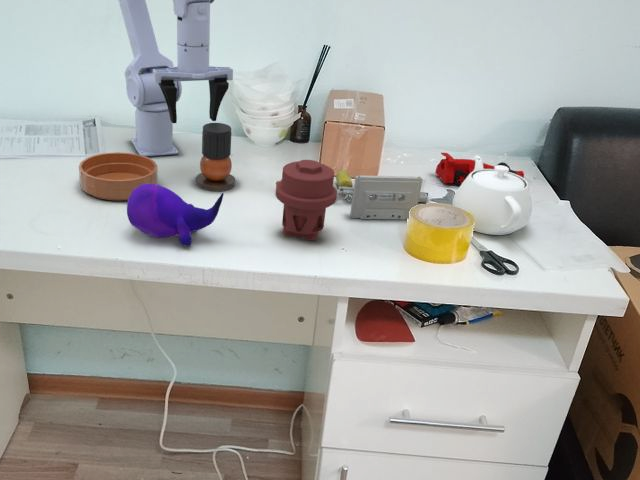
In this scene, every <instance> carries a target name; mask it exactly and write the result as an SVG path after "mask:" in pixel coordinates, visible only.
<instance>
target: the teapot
mask: <svg viewBox="0 0 640 480" xmlns="http://www.w3.org/2000/svg"><path fill="white" fill-rule="evenodd" d="M474 160H475V168H474V171H473V172H471V173H470V174H469V175H468V177H467V178H466V179H465V180H464V182H463V183H462V184H461V186H458V189H457V190H456V192H455V194H454V196H453V198H452V202H451V203H452V204H451V206H452V205H453V206H456V207H458V208H461V209H463V210H466V211H468V212H470V213H471V214H472V215H474V217H475V225H474V228H473V230H472V231H475V232H477V233H480V234H485V235H492V236H493V235H494V236H503V235H509V234H512V233H514V232H516V231H518V230H520V229H522V228H523V227H525V226H526V225H527V224H528V223H529V222H530V220H531V217H532V211H533V200H532V193H531V189H530V184H529V182H528V181H527V179H525V177H524V178H523V177H521V176H519V175H517V174H514V173H511V172H508V171H509V168H508V167H506V166H502V165H497V164H496V165H497V166H496V165H494V166H495V167H494V168H495V169H484V168H483V163H484V161H483V158H482V157H481V156H479V155H474Z"/></svg>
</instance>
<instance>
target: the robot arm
mask: <svg viewBox="0 0 640 480" xmlns="http://www.w3.org/2000/svg"><path fill="white" fill-rule="evenodd" d="M214 2H215V0H172V4H173V12H174V15H175V16H176V47H177V48H176V51H177V52H176V53H177V56H176V57H177V61H176V62H177V66H174V65H175V64H174V63H173V61H172V60H171V59H170V58H168V57H167V56H165V55H164V54H162V53H161V52H160V50H159V47H158V43H157V42H158V41H157V40H156V35H155V32H154V28H153V24H152V20H151V16H150V13H149V8H148V4H147V1H146V0H118V4H119V7H120V11H121V15H122V19H123V22H124V26H125V29H126V34H127V37H128V41H129V45H130V49H131V53H132V56H133V59H132V61H131V62H130V63H129V64H128V65H127V67H126V68H125V71H124V77H125V83H126V85H125V86H126V94H127V98H128V100H129V102H130V103H131V104H132V105H133V107H135V112H134V118H135V119H134V121H135V122H134V123H135V138H132V139H131V143H132V145H133V146H134V148H135V150H136V151H137V154H138V155H142V156H145V157H154V156H155V157H156V156H168V155H169V156H170V155H178V154H179V151H178V149H177V148H176V146H175V145H174V142H173V141H174V139H173V138H174V137H173V136H174V135H173V132H174V131H173V130H174V129H173V125H174V124H177V121H178V115H177V103H178V102H179V100H180V98H181V96H182V92H183V88H182V82H195V81H196V82H197V81H208V86H209V108H208V109H209V110H208V111H209V112H208V113H209V114H208V115H209V119H210V120H211V122H216V121H217V118H218V114H219V110H220V107H221V104H222V101H223V99H224V97H225V95H226V93H227V91H228V90H229V87H230V83H229V81H233V80H234V68H232V67H230V66H213V65H212V66H210V44H211V43H210V40H211V39H210V35H211V28H210V27H211V4H212V3H214Z"/></svg>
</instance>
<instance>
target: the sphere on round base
mask: <svg viewBox="0 0 640 480" xmlns="http://www.w3.org/2000/svg"><path fill="white" fill-rule="evenodd" d="M232 167H233V163H232V159H231V158H230V156H229V157H227V158H225V159H211V158H208V157H205V156H204V155H203V154H202V156H201V159H200V161H199V168H200V172H201V173H198V174H196V176H195V181H194V182H195V185H196V187H198V188H200V189H202V190H204V191H209V192H226V191H229V190H232V189H233V188H235V186H236V177H235V176H234V175H232V174H231V172H232V169H233V168H232Z"/></svg>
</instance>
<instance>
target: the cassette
mask: <svg viewBox="0 0 640 480" xmlns="http://www.w3.org/2000/svg"><path fill="white" fill-rule="evenodd" d="M423 181H424V180H423V178H422V176H409V175H408V176H407V175H405V176H404V175H355V177H354V184H353V188H354V190H353V196H352V201H351V204H350V211H349V216H350V218H351V219H361V220H410V219H409V211H410V209H411V208H412V207H414V206H416V205H419V202H418V201H419V196H420V192H421V190H422V185H423ZM380 193H393V197H392V198H390V197H379V196H380ZM372 194H374V195H373V196H370V195H372ZM401 194H402V196H401V197H398V196H399V195H401Z"/></svg>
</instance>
